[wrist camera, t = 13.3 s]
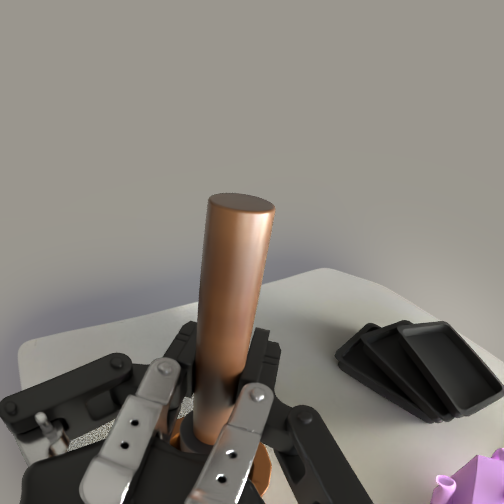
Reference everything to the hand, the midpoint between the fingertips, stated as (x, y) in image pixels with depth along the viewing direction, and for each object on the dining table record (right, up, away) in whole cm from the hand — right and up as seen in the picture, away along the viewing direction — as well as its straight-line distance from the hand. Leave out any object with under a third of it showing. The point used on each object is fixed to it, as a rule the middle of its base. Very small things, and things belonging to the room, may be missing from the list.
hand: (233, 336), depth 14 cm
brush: (-2, -11, +2) cm, 11 cm away
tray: (+28, -16, +25) cm, 41 cm away
